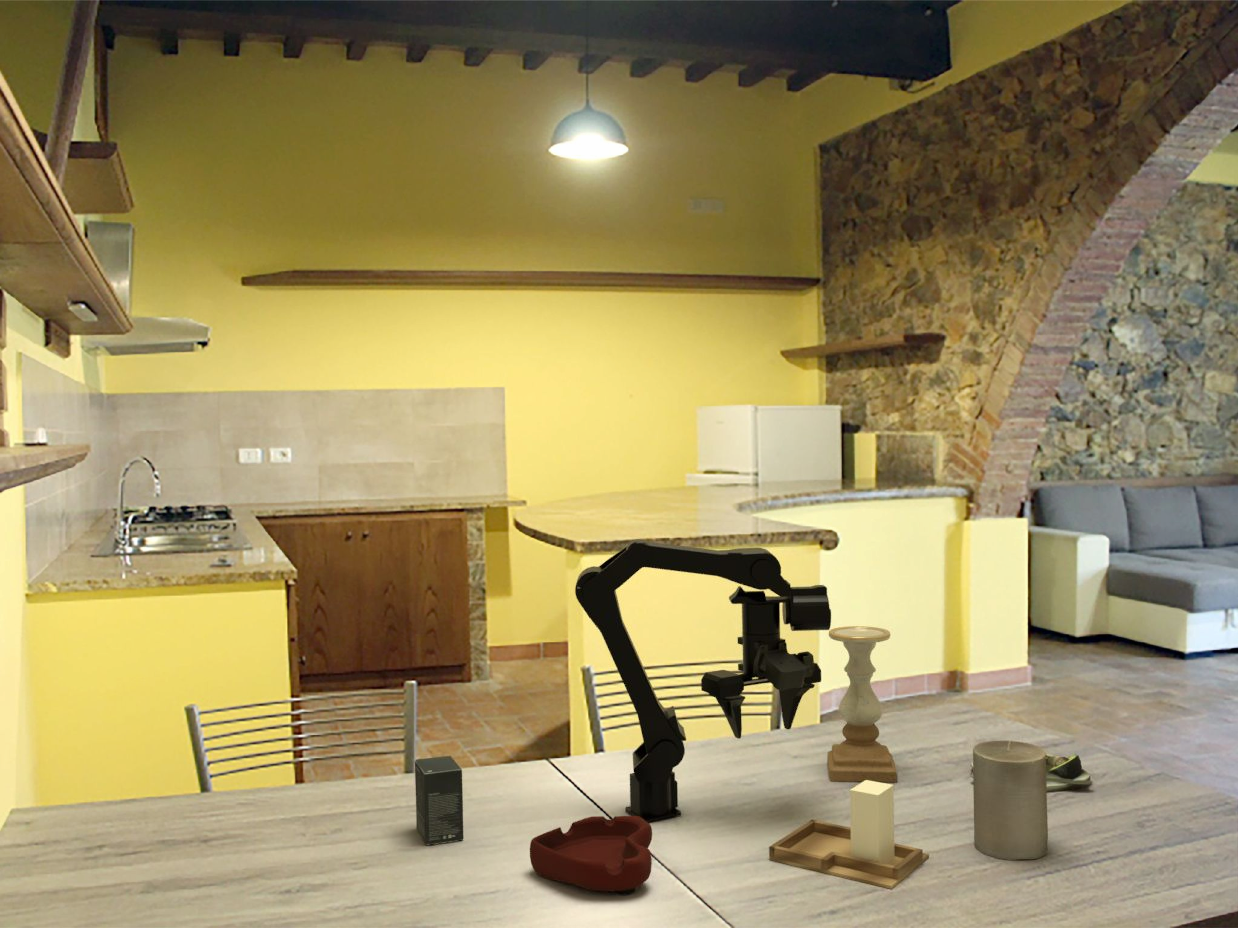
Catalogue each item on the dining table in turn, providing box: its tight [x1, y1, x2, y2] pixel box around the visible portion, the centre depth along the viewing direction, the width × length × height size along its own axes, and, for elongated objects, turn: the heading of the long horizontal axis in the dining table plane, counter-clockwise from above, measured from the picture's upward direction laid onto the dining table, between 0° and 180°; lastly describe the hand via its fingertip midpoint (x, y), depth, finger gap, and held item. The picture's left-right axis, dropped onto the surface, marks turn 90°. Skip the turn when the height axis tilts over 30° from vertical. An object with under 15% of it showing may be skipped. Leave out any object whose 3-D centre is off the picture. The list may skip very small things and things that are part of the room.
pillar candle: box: [972, 740, 1049, 861], centre depth 158 cm, size 10×10×15 cm
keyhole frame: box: [768, 819, 930, 890], centre depth 156 cm, size 18×13×2 cm
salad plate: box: [969, 753, 1094, 792], centre depth 188 cm, size 19×18×5 cm
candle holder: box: [826, 625, 898, 784], centre depth 193 cm, size 11×11×24 cm
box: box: [414, 755, 464, 846], centre depth 168 cm, size 8×6×11 cm
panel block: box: [849, 780, 895, 864], centre depth 154 cm, size 4×5×10 cm
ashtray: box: [529, 815, 653, 896], centre depth 153 cm, size 18×16×5 cm
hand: (763, 733), depth 175 cm, fingers open, 9 cm apart
